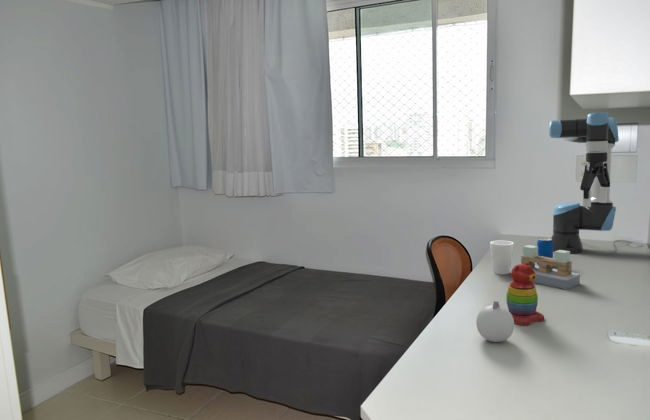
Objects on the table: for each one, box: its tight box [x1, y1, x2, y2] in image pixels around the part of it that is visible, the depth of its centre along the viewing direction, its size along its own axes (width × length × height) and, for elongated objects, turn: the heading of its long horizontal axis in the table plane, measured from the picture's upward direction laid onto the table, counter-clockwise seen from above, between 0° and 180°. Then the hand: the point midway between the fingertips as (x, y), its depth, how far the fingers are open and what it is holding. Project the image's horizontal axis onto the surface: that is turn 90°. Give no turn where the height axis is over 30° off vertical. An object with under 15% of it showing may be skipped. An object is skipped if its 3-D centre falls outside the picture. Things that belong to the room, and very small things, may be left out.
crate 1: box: [522, 244, 538, 258], centre depth 201 cm, size 4×4×4 cm
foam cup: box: [489, 239, 515, 276], centre depth 211 cm, size 10×9×13 cm
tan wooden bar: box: [520, 255, 573, 277], centre depth 197 cm, size 5×18×5 cm, turn 37°
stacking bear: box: [505, 263, 546, 326], centre depth 158 cm, size 11×10×18 cm
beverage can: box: [536, 237, 554, 266], centre depth 219 cm, size 6×6×12 cm
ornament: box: [475, 300, 515, 343], centre depth 143 cm, size 10×10×12 cm
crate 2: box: [553, 250, 571, 263], centre depth 191 cm, size 4×4×4 cm
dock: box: [532, 265, 581, 290], centre depth 197 cm, size 10×22×4 cm, turn 37°
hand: (595, 204), depth 201 cm, fingers open, 13 cm apart
